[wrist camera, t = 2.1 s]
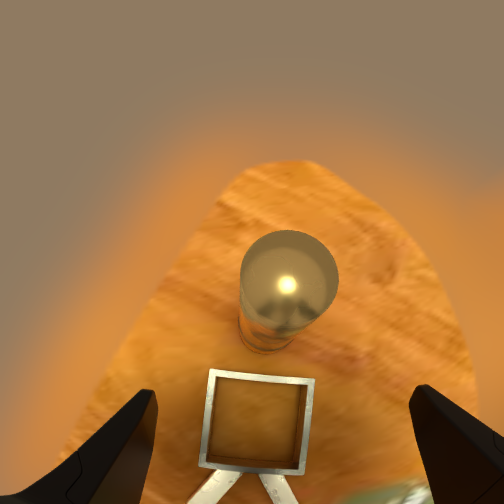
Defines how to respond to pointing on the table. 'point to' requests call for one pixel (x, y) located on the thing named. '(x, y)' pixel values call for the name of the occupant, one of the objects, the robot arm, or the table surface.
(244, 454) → the table surface
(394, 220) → the table surface
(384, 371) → the table surface
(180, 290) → the table surface
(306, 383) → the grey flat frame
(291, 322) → the gold metal cylinder
